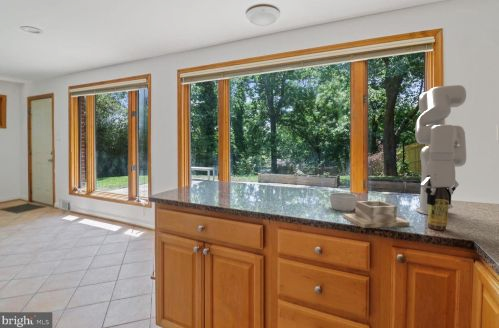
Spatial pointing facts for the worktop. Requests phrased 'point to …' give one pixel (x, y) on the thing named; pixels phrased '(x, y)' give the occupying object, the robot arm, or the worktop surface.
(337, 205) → the ramekin
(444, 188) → the sauce bottle
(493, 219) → the worktop surface
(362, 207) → the bottle caddy
